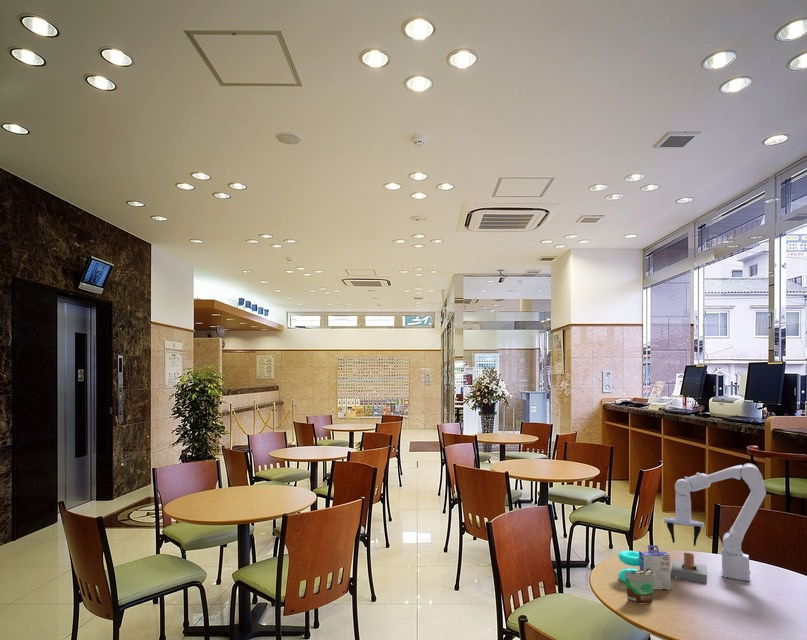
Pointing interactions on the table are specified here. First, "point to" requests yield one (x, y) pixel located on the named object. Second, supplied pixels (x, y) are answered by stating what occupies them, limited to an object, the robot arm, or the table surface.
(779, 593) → the table surface
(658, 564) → the ink cartridge box
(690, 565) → the peg
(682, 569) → the socket block
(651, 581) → the food container
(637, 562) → the donuts
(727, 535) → the robot arm
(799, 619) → the table surface
